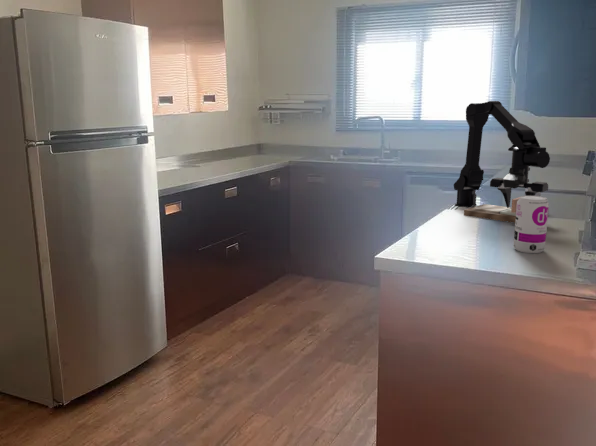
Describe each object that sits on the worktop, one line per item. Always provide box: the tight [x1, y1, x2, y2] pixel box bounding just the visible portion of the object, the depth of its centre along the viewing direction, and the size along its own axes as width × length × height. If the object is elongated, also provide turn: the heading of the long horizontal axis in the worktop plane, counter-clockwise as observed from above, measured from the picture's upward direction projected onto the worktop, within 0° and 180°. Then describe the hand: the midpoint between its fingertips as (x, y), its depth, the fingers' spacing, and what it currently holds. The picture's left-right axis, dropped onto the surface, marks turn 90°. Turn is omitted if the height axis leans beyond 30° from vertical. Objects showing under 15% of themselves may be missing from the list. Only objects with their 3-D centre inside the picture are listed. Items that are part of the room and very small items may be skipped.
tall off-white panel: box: [500, 196, 520, 216], centre depth 209 cm, size 6×11×5 cm, turn 137°
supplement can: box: [512, 195, 550, 254], centre depth 165 cm, size 8×8×15 cm
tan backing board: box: [463, 203, 516, 224], centre depth 213 cm, size 22×16×3 cm
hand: (516, 208), depth 209 cm, fingers open, 6 cm apart
